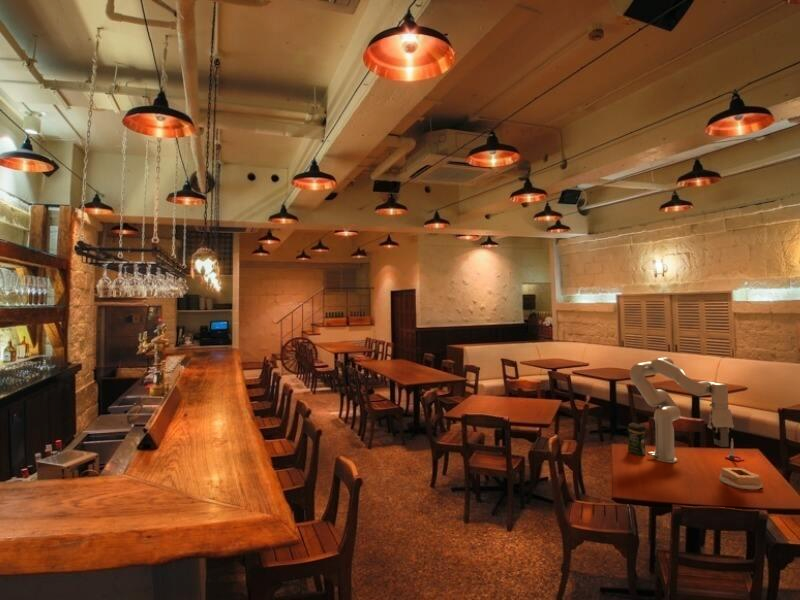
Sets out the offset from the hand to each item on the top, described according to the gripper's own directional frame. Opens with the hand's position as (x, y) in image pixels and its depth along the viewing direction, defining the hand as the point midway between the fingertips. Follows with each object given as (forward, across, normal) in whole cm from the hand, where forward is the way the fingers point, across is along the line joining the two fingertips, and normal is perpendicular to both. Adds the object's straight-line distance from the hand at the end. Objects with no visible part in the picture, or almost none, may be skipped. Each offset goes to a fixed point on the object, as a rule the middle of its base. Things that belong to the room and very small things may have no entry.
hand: (721, 438), depth 249 cm
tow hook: (+20, +24, +26) cm, 40 cm away
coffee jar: (+19, -30, +34) cm, 49 cm away
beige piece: (+20, +3, -10) cm, 23 cm away
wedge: (+3, 0, 0) cm, 3 cm away
